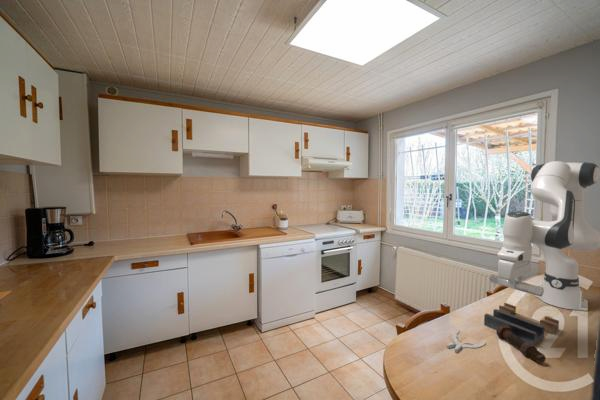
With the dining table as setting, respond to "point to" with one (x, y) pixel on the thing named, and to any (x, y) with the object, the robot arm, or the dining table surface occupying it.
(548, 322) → the beam
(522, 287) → the axle
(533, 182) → the robot arm
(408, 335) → the dining table surface
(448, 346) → the pliers
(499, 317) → the v block
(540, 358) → the bolt
